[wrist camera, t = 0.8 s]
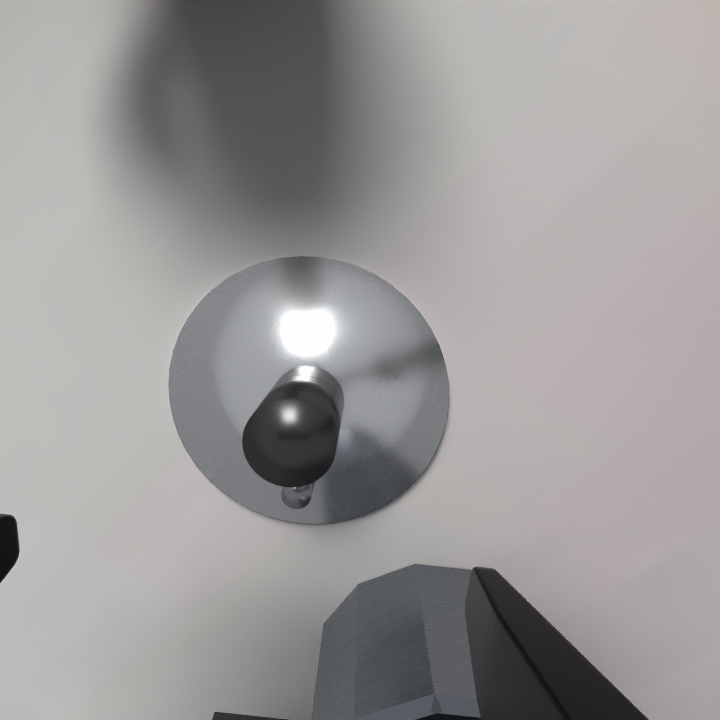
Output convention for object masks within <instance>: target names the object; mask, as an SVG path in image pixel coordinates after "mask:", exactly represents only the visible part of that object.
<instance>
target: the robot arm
mask: <svg viewBox="0 0 720 720" xmlns="http://www.w3.org/2000/svg"><path fill="white" fill-rule="evenodd" d="M18 556H19V540H18V530H17V522H16V519H15V518H14V516H12V515H7V514H0V583H1V582H2V580H3V579H4V578H5V576H6V575H7V574H8V573H9V571H10V570H11V569H12V567H13V566H14V565H15V563H16V561H17V559H18ZM465 618H466V626H467V633H468V640H469V647H470V655H471V662H472V669H473V676H474V684H475V690H476V697H477V703H478V708H479V712H480V717H481V720H649V719H648V718H647V717H646V716H644V715H643V714H642V713H641V712H640V711H639V710H638V709H637V708H636V707H635V706H634V705H633V704H632V703H631V702H630V701H629V700H628V699H627V698H626V697H625V696H624V695H623V694H622V693H621V692H620V691H619V690H618V689H617V688H616V687H615V686H614V685H613V684H612V683H611V682H610V681H609V680H608V679H607V678H606V677H605V676H604V675H603V674H602V673H601V672H600V671H598V670H597V669H596V668H595V667H594V666H593V665H592V664H591V663H590V662H589V661H588V660H587V659H586V658H585V657H584V656H583V655H582V654H581V653H580V652H579V651H578V650H577V649H576V648H575V647H574V646H573V645H572V644H571V643H570V642H569V641H568V640H567V639H566V638H565V637H564V636H563V635H562V634H561V633H560V632H559V631H558V630H557V629H556V628H555V627H554V626H552V625H551V624H550V623H549V622H548V621H547V620H546V619H545V618H544V617H543V616H542V615H541V614H540V613H539V612H538V611H537V610H536V609H535V608H534V607H533V606H532V605H531V604H530V603H529V602H528V601H527V600H526V599H525V598H524V597H523V596H522V595H521V594H520V593H519V592H518V591H517V590H516V589H515V588H514V587H513V586H512V585H511V584H510V583H509V582H508V581H506V580H505V579H504V578H503V577H502V576H501V575H500V574H499V573H498V572H497V571H496V570H495V569H492V568H484V567H474V568H473V569H472V571H471V574H470V579H469V584H468V589H467V594H466V599H465Z"/></svg>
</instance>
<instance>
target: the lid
mask: <svg viewBox="0 0 720 720" xmlns="http://www.w3.org/2000/svg"><path fill="white" fill-rule="evenodd" d="M169 399H170V406H171V411H172V416H173V420H174V423H175V426H176V429H177V432H178V435H179V437H180V439H181V441H182V443H183V445H184V447H185V449H186V451H187V453H188V454H189V456H190V457H191V459H192V460H193V462H194V463H195V465H196V466H197V467H198V468H199V470H200V471H201V472H202V473H203V474H204V475H205V476H206V478H207V479H208V480H209V481H210V482H212V483H213V484H214V485H215V486H216V487H217V488H218V489H219V490H220V491H222V492H223V493H224V494H226V495H227V496H229V497H230V498H231V499H233V500H234V501H236V502H238V503H240V504H241V505H243V506H245V507H247V508H249V509H251V510H253V511H256V512H258V513H260V514H263V515H265V516H269V517H272V518H276V519H279V520H284V521H290V522H296V523H310V524H319V523H333V522H338V521H344V520H349V519H352V518H355V517H359V516H362V515H365V514H367V513H369V512H372V511H374V510H376V509H378V508H380V507H382V506H384V505H385V504H387V503H389V502H390V501H392V500H394V499H395V498H396V497H398V496H399V495H400V494H401V493H403V492H404V491H405V490H406V489H408V488H409V487H410V486H411V484H412V483H413V482H414V481H415V480H416V479H417V478H418V477H419V476H420V475H421V473H422V472H423V471H424V469H425V468H426V467H427V465H428V464H429V462H430V461H431V459H432V457H433V455H434V453H435V452H436V450H437V448H438V445H439V443H440V440H441V438H442V435H443V432H444V428H445V424H446V420H447V415H448V405H449V384H448V376H447V371H446V365H445V361H444V358H443V355H442V352H441V349H440V346H439V344H438V342H437V340H436V338H435V336H434V334H433V332H432V330H431V328H430V326H429V325H428V323H427V322H426V321H425V319H424V318H423V316H422V315H421V313H420V312H419V311H418V310H417V309H416V307H415V306H414V305H413V304H412V303H411V302H410V301H409V300H408V298H407V297H405V296H404V295H403V294H402V293H401V292H400V291H398V290H397V289H396V288H395V287H394V286H393V285H391V284H390V283H388V282H387V281H385V280H383V279H382V278H380V277H379V276H377V275H376V274H373V273H371V272H369V271H367V270H365V269H363V268H361V267H359V266H356V265H352V264H349V263H346V262H343V261H340V260H334V259H329V258H323V257H305V256H299V257H288V258H279V259H275V260H271V261H266V262H262V263H259V264H256V265H254V266H251V267H249V268H246V269H244V270H242V271H240V272H238V273H236V274H234V275H233V276H231V277H229V278H227V279H226V280H224V281H223V282H222V283H221V284H219V285H218V286H217V287H215V288H214V289H213V290H211V291H210V292H209V293H208V294H207V295H206V296H205V297H204V299H203V300H202V301H201V302H200V303H199V304H198V305H197V306H196V308H195V309H194V310H193V312H192V313H191V315H190V316H189V317H188V319H187V321H186V323H185V324H184V326H183V328H182V330H181V332H180V334H179V336H178V339H177V342H176V345H175V347H174V350H173V355H172V359H171V364H170V371H169Z"/></svg>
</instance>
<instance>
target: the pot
mask: <svg viewBox="0 0 720 720" xmlns="http://www.w3.org/2000/svg"><path fill="white" fill-rule="evenodd" d="M471 571H472V570H465V569H456V568H446V567H437V566H428V565H419V564H414V565H411V566H409V567H406V568H403V569H400V570H397V571H395V572H392V573H389V574H386V575H383V576H381V577H378V578H375V579H372V580H369V581H366V582H364V583H361V584H358V586H357V587H356V588H355V589H354V590H353V591H352V592H351V594H350V595H349V596H348V597H347V598H346V599H345V600H344V602H343V603H342V604H341V605H340V606H339V607H338V608H337V610H336V611H335V612H334V613H333V614H332V615H331V616H330V618H329V619H328V620H327V621H326V622H325V623H324V626H323V634H322V642H321V650H320V658H319V666H318V674H317V681H316V689H315V697H314V705H313V713H312V720H481V717H480V712H479V708H478V703H477V697H476V690H475V684H474V676H473V669H472V662H471V655H470V647H469V640H468V633H467V626H466V618H465V599H466V594H467V589H468V584H469V579H470V574H471ZM212 720H286V719H277V718H268V717H258V716H249V715H240V714H231V713H221V712H215V713H214V716H213V719H212Z"/></svg>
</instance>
